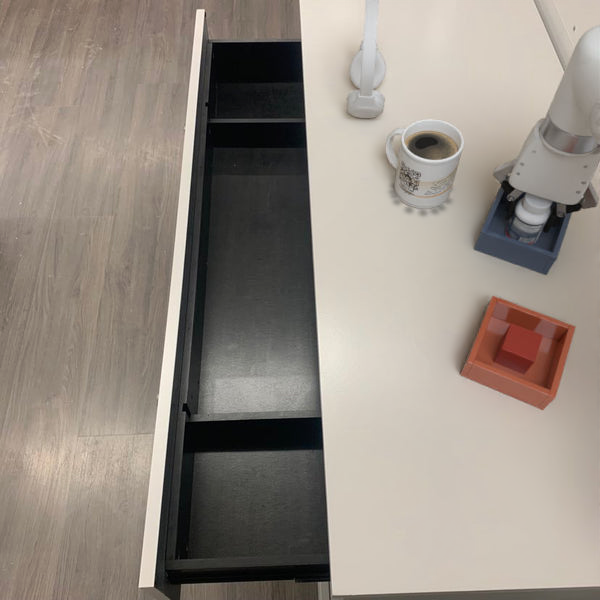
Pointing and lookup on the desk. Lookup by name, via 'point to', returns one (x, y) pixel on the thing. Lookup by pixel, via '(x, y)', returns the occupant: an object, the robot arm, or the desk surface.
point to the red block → (518, 348)
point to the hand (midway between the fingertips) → (528, 219)
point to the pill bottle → (529, 218)
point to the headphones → (367, 70)
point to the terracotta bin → (544, 371)
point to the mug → (425, 161)
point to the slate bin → (516, 251)
